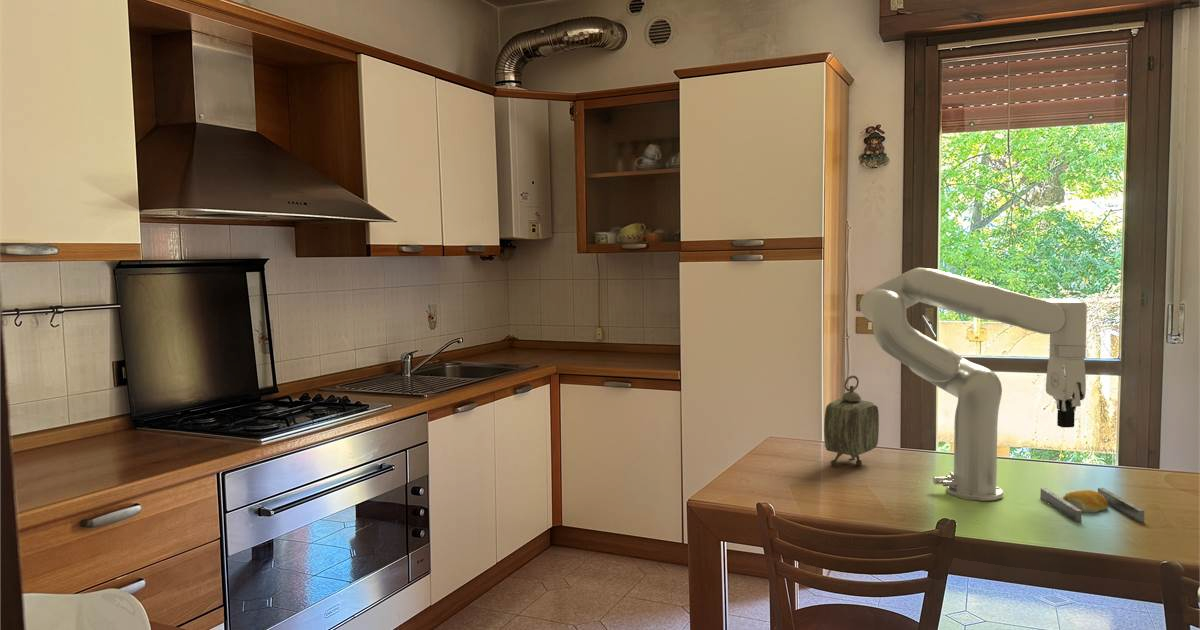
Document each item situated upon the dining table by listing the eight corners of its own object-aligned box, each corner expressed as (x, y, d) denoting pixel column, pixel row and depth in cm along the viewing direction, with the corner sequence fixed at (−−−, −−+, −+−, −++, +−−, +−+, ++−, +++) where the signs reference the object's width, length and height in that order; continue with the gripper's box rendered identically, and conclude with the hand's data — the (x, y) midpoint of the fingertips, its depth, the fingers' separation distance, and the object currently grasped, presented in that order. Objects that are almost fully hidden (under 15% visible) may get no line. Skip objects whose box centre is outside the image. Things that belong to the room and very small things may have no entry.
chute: (1075, 521, 176) (1076, 510, 176) (1040, 498, 192) (1040, 488, 191) (1143, 521, 175) (1144, 510, 175) (1102, 498, 191) (1103, 487, 191)
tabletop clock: (851, 456, 232) (851, 370, 230) (880, 461, 225) (881, 374, 223) (824, 466, 222) (824, 377, 220) (853, 473, 216) (854, 381, 213)
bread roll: (1114, 508, 184) (1114, 492, 184) (1090, 516, 180) (1091, 498, 180) (1078, 498, 191) (1079, 482, 191) (1055, 505, 187) (1055, 488, 187)
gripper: (1036, 347, 200) (1034, 419, 201) (1067, 356, 185) (1065, 434, 186) (1067, 346, 199) (1065, 419, 201) (1101, 355, 184) (1099, 433, 186)
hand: (1065, 426), depth 194 cm, fingers closed
